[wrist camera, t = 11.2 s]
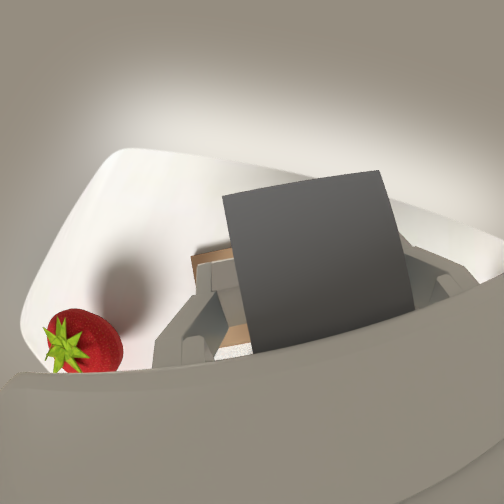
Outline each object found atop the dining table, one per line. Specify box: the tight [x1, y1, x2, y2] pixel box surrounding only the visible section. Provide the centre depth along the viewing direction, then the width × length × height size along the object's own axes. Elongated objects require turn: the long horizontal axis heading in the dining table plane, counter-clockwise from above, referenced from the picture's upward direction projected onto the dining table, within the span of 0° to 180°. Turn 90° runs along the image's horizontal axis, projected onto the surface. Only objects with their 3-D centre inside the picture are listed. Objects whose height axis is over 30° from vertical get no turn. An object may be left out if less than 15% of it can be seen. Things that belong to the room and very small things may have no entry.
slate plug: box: [222, 170, 415, 354], centre depth 11 cm, size 4×4×8 cm
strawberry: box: [43, 309, 123, 373], centre depth 20 cm, size 6×8×10 cm
